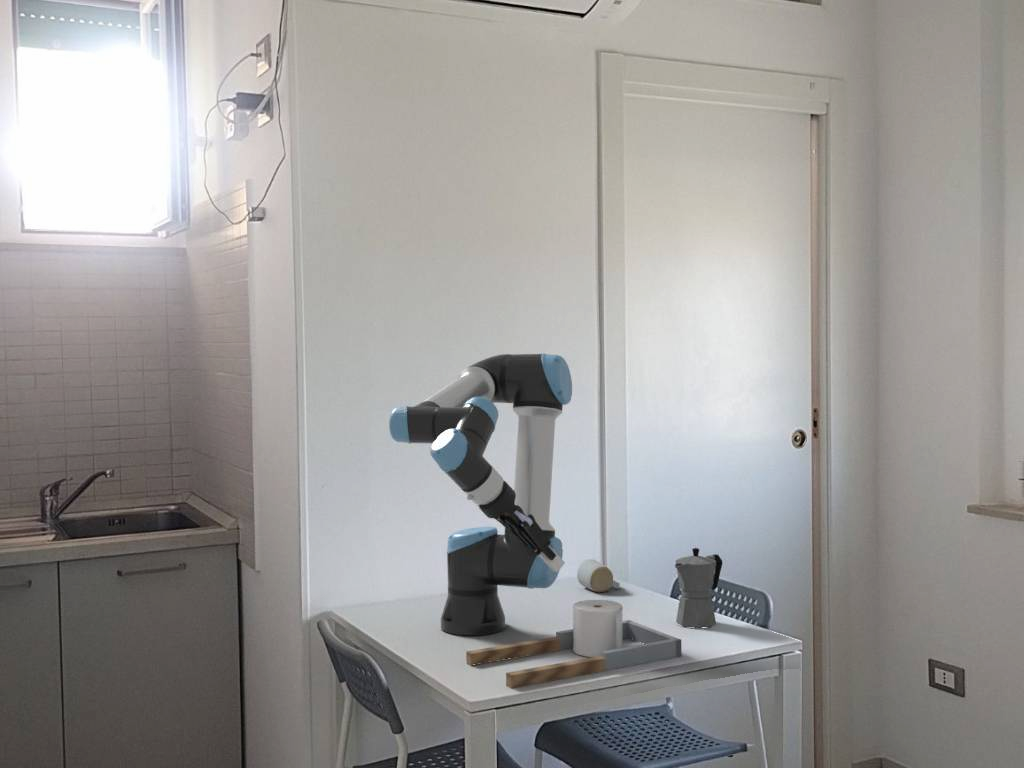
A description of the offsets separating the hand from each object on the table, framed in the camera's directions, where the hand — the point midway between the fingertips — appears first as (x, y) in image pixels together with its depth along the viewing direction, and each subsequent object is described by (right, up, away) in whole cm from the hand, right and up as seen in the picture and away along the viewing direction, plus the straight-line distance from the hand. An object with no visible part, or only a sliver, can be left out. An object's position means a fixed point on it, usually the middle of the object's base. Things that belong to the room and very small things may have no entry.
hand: (559, 567), depth 231 cm
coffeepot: (+34, -19, +31) cm, 50 cm away
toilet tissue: (+9, -20, +8) cm, 23 cm away
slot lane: (-5, -20, -3) cm, 21 cm away
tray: (+12, -20, +7) cm, 24 cm away
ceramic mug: (+14, -17, +66) cm, 70 cm away
